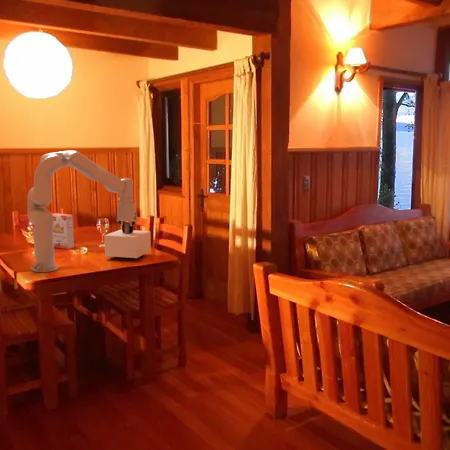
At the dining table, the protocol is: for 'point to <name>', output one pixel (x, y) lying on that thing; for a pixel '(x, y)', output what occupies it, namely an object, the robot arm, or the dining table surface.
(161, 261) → the dining table surface
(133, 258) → the skull
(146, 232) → the cover
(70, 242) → the cracker box
